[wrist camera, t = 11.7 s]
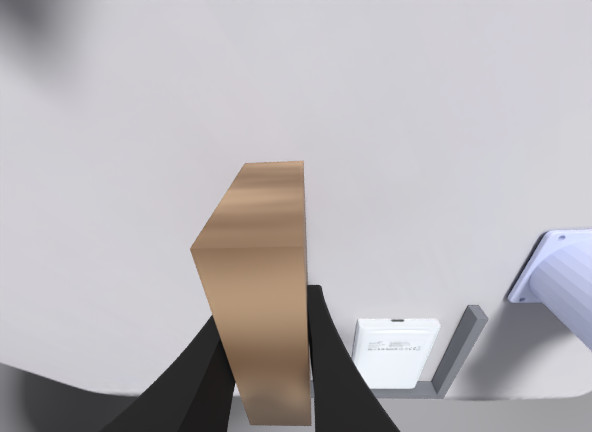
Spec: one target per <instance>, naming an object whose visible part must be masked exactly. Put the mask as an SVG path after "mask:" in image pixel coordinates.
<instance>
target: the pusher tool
mask: <svg viewBox="0 0 592 432" xmlns="http://www.w3.org/2000/svg"><path fill="white" fill-rule="evenodd" d="M190 250H191V253H192V256H193V259H194V262H195V265H196V268H197V271H198V274H199V277H200V280H201V282H202V285H203V288H204V291H205V294H206V297H207V300H208V303H209V306H210V309H211V312H212V314H213V317H214V320H215V323H216V326H217V329H218V332H219V335H220V338H221V341H222V344H223V346H224V349H225V352H226V355H227V358H228V361H229V364H230V367H231V370H232V373H233V376H234V379H235V381H236V384H237V387H238V390H239V393H240V396H241V399H242V401H243V405H244V407H245V410H246V413H247V416H248V419H249V422H250V425H284V426H311V387H310V348H309V336H308V311H307V285H308V273H307V246H306V218H305V190H304V163H303V161H288V162H264V163H245V164H244V165H243V167H242V168H241V170H240V172H239V173H238V175H237V176H236V178H235V179H234V181H233V183H232V184H231V186H230V187H229V189H228V190H227V192H226V193H225V195H224V197H223V198H222V200H221V201H220V203H219V204H218V206H217V207H216V209H215V211H214V212H213V214H212V215H211V217H210V218H209V220H208V222H207V223H206V225H205V226H204V228H203V229H202V231H201V232H200V234H199V236H198V237H197V239H196V240H195V242H194V243H193V245H192V247H191V248H190Z"/></svg>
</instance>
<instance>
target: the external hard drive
mask: <svg viewBox="0 0 592 432" xmlns="http://www.w3.org/2000/svg"><path fill="white" fill-rule="evenodd" d="M440 327H441V325H440V323H439V321H438V319H403V320H402V319H400V320H399V319H398V320H396V319H358V321H357V328H356V335H355V341H354V348H353V354H352V361H353V362H354V364H355V366H356V368H357V369H358V371H359V372H360V374H361V376H362V377H363V379H364V381H365V382H366V384H367V385H368V387H369V388H370V389H412V388H414V387H415V386H416V383H417V381H418V379H419V376H420V374H421V372H422V369H423V367H424V364H425V362H426V360H427V357H428V355H429V353H430V350H431V348H432V346H433V343H434V341H435V338H436V336H437V334H438V332H439V329H440Z"/></svg>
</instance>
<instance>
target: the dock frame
mask: <svg viewBox="0 0 592 432" xmlns="http://www.w3.org/2000/svg"><path fill="white" fill-rule="evenodd" d="M487 321H488V317H487V316H486V315H485V313H484V312H483V310H482V309H481V308H480V306H479V305H468V307H467V309H466V311H465V313H464V315H463V317H462V319H461V321H460V324H459V326H458V328H457V330H456V332H455V334H454V336H453V338H452V340H451V342H450V344H449V347H448V349H447V351H446V353H445V355H444V357H443V359H442V361H441V363H440V365H439V367H438V369H437V372H436V374H435V376H434V378H433V380H432V382H417V383H416V386H415V387H414V388H412V389H370V390H371V391H372V393H373V394H374V396H375V397H376V398H405V399H443V398H444V396H445V395H446V393H447V391H448V389H449V388H450V386H451V384H452V382H453V381H454V379H455V377H456V375H457V374H458V372H459V370H460V368H461V367H462V365H463V363H464V361H465V360H466V358H467V356H468V354H469V353H470V351H471V349H472V347H473V346H474V344H475V342H476V340H477V338H478V337H479V335H480V333H481V331H482V330H483V328H484V326H485V324H486V323H487ZM310 387H311V398H314V386H313V381H310Z"/></svg>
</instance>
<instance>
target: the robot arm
mask: <svg viewBox="0 0 592 432" xmlns="http://www.w3.org/2000/svg"><path fill="white" fill-rule="evenodd" d="M508 300H509V301H510V302H512V303H543V304H544V305H545V306H546V307H547V308H548V309H549V310H550V311H551V312H552V313H553V314H554V315H555V316H556V317H558V318H559V319H560V320H561V321H562V322H563V323H564V324H565V325H566V326H567V327H568V328H569V329H570V330H571V331H572V332H573V333H574V334H575V335H576V336H577V337H578V338H579V339H580V340H581V341H582V342H583V343H584V344H585V345H586V346H587V347H588V348H589V349H590V350H591V351H592V230H554V231H549V232H547V233H546V234H545V235H544V237H543V238H542V240H541V242H540V243H539V245H538V247H537V248H536V250H535V252H534V254H533V255H532V257H531V259H530V260H529V262H528V264H527V265H526V267H525V269H524V270H523V272H522V274H521V276H520V277H519V279H518V281H517V282H516V284H515V286H514V287H513V289H512V291H511V292H510V294H509V296H508ZM307 311H308V336H309V348H310V357H311V367H312V376H313V386H314V403H315V404H314V405H315V432H400V431H399V429H398V428H397V427H396V425H395V424H394V423H393V421H392V420H391V419H390V417H389V416H388V414H387V413H386V412H385V410H384V409H383V408H382V406H381V405H380V403H379V402H378V400H377V399H376V397H375V396H374V394H373V393H372V391H371V390H370V388H369V387H368V385H367V384H366V382H365V381H364V379H363V377H362V376H361V374H360V372H359V371H358V369H357V368H356V366H355V364H354V362H353V361H352V359H351V357H350V355H349V354H348V352H347V350H346V348H345V346H344V344H343V342H342V340H341V338H340V336H339V334H338V332H337V330H336V328H335V325H334V323H333V321H332V318H331V316H330V314H329V311H328V308H327V305H326V303H325V299H324V296H323V292H322V287H321V286H320V285H307ZM235 383H236V381H235V379H234V376H233V373H232V370H231V367H230V364H229V361H228V358H227V355H226V352H225V349H224V346H223V344H222V341H221V338H220V335H219V332H218V329H217V326H216V323H215V320H214V317H213V314H212V316H211V317H210V318H209V320H208V321H207V322H206V324H205V325H204V326H203V328H202V329H201V330H200V332H199V333H198V334H197V335H196V337H195V338H194V339H193V340H192V342H191V343H190V344H189V345H188V346H187V348H186V349H185V350H184V351H183V352H182V353H181V354H180V356H179V357H178V358H177V359H176V360H175V361H174V362H173V363H172V364H171V365H170V366H169V368H168V369H167V370H166V371H165V372H164V373H163V374H162V375H161V376H160V377H159V378H158V379H157V380H156V381H155V382H154V383H153V384H152V385H151V386H150V387H149V388H148V389H147V390H146V391H144V392H143V393H142V394H141V395H140V396H139V397H138V398H137V399H136V400H135V401H133V402H132V403H131V404H130V405H129V406H128V407H127V408H126V409H125V410H124V411H123V412H121V414H119V415H118V416H117V417H116V418H114V419H113V420H112V421H111V422H110V423H108V424H107V425H106V426H105V427H104V428H102V429H101V430H100V431H99V432H227V427H228V420H229V414H230V409H231V403H232V397H233V392H234V387H235Z"/></svg>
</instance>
